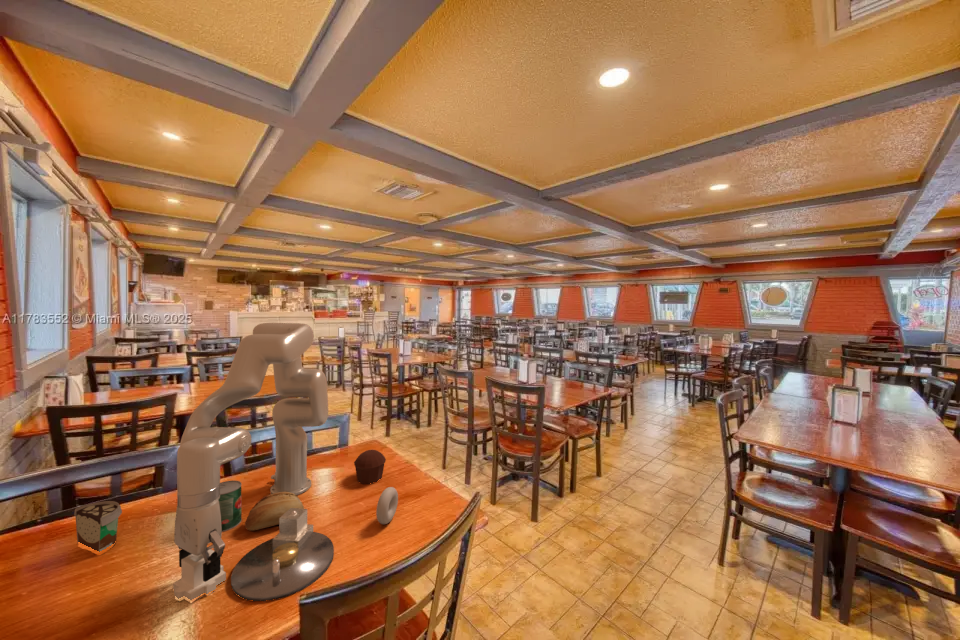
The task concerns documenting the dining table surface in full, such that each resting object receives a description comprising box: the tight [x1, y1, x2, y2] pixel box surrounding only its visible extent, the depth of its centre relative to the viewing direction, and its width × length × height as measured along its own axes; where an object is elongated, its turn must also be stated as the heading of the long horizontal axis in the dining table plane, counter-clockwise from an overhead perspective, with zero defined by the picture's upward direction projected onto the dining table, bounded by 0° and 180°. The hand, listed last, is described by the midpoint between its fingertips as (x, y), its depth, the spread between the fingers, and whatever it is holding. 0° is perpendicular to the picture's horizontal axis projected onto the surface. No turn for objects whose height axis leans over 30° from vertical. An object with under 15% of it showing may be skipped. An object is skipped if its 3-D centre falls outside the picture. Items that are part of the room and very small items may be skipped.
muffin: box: [353, 449, 387, 485], centre depth 131 cm, size 12×11×10 cm
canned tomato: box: [218, 480, 243, 533], centre depth 102 cm, size 8×8×11 cm
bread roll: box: [244, 492, 305, 532], centre depth 103 cm, size 10×15×8 cm, turn 127°
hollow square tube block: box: [172, 549, 227, 600], centre depth 80 cm, size 9×9×7 cm
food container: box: [73, 500, 123, 552], centre depth 93 cm, size 12×6×10 cm, turn 71°
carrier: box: [230, 508, 335, 602], centre depth 87 cm, size 22×22×9 cm
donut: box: [375, 486, 399, 525], centre depth 105 cm, size 10×4×10 cm, turn 168°
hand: (199, 569), depth 79 cm, fingers open, 8 cm apart
